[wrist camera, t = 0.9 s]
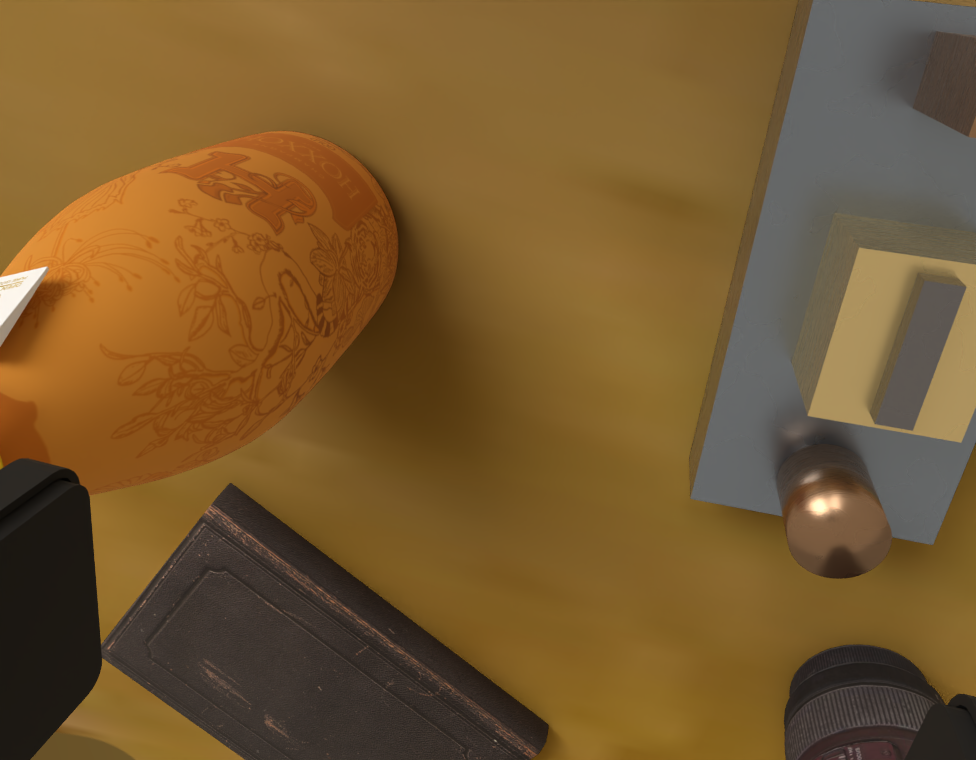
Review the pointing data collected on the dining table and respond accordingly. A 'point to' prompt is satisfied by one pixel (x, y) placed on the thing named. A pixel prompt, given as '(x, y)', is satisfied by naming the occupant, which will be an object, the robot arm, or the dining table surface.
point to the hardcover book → (304, 655)
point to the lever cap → (892, 328)
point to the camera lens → (856, 705)
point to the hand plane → (795, 262)
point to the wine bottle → (188, 306)
